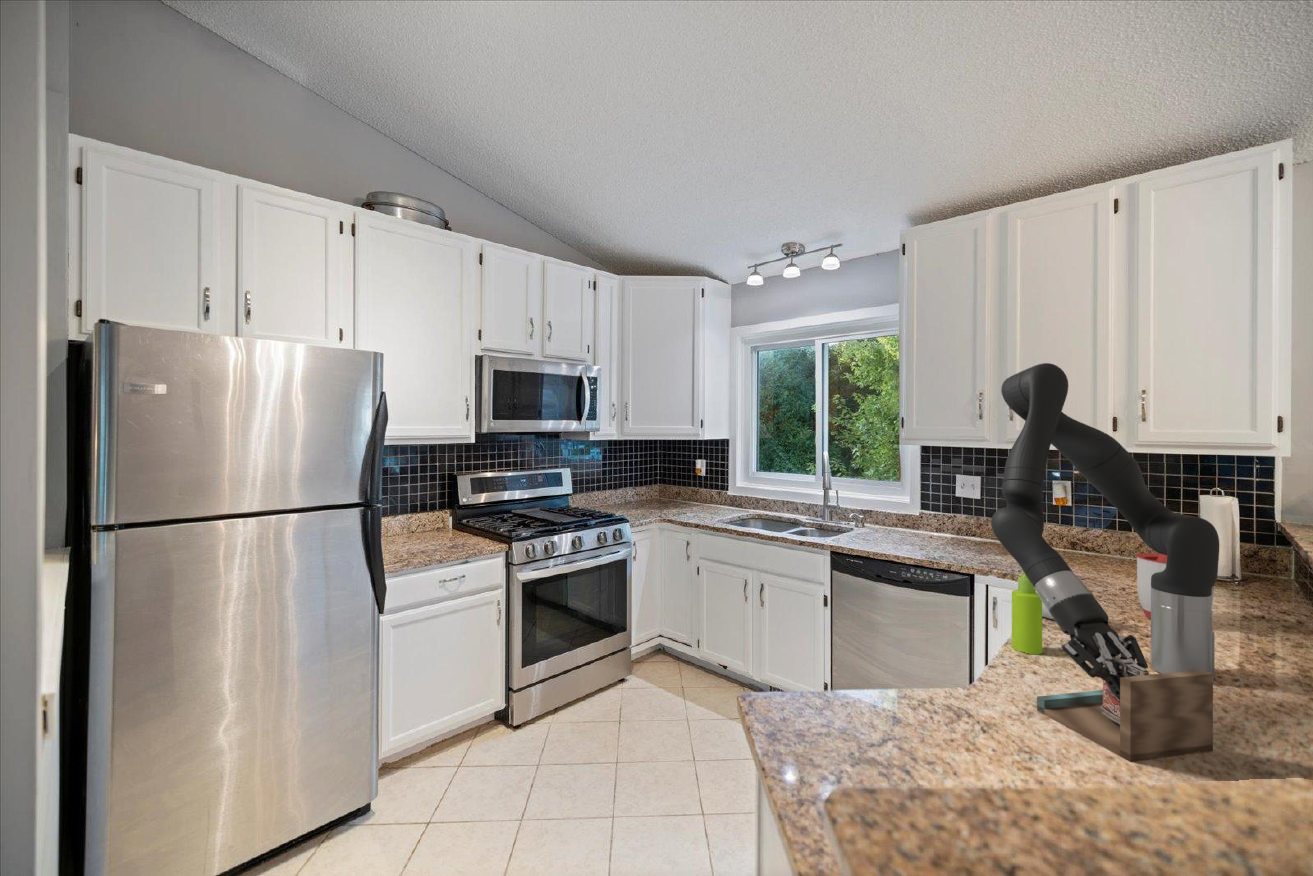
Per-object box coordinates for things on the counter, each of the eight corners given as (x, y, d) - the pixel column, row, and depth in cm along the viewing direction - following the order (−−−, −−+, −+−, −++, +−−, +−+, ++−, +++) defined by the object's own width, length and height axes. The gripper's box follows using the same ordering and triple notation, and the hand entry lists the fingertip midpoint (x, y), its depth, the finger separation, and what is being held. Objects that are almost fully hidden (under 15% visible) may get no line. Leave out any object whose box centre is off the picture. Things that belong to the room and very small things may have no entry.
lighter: (1095, 710, 93) (1095, 651, 94) (1113, 709, 94) (1114, 651, 94) (1140, 735, 85) (1141, 671, 85) (1160, 735, 86) (1161, 671, 86)
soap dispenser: (1052, 656, 124) (1052, 567, 124) (1018, 653, 125) (1018, 565, 125) (1039, 646, 129) (1039, 561, 129) (1007, 644, 131) (1007, 560, 131)
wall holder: (1109, 702, 101) (1109, 637, 101) (1213, 750, 86) (1213, 673, 86) (1036, 710, 98) (1037, 643, 98) (1130, 761, 82) (1130, 681, 82)
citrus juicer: (1153, 628, 143) (1153, 551, 143) (1125, 609, 159) (1125, 540, 159) (1232, 636, 137) (1232, 556, 137) (1195, 616, 153) (1195, 544, 154)
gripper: (1050, 593, 96) (1121, 695, 84) (1116, 590, 98) (1194, 688, 86) (1024, 614, 101) (1087, 713, 89) (1087, 610, 104) (1157, 705, 92)
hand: (1139, 700), depth 88 cm, fingers closed on lighter, 3 cm apart
